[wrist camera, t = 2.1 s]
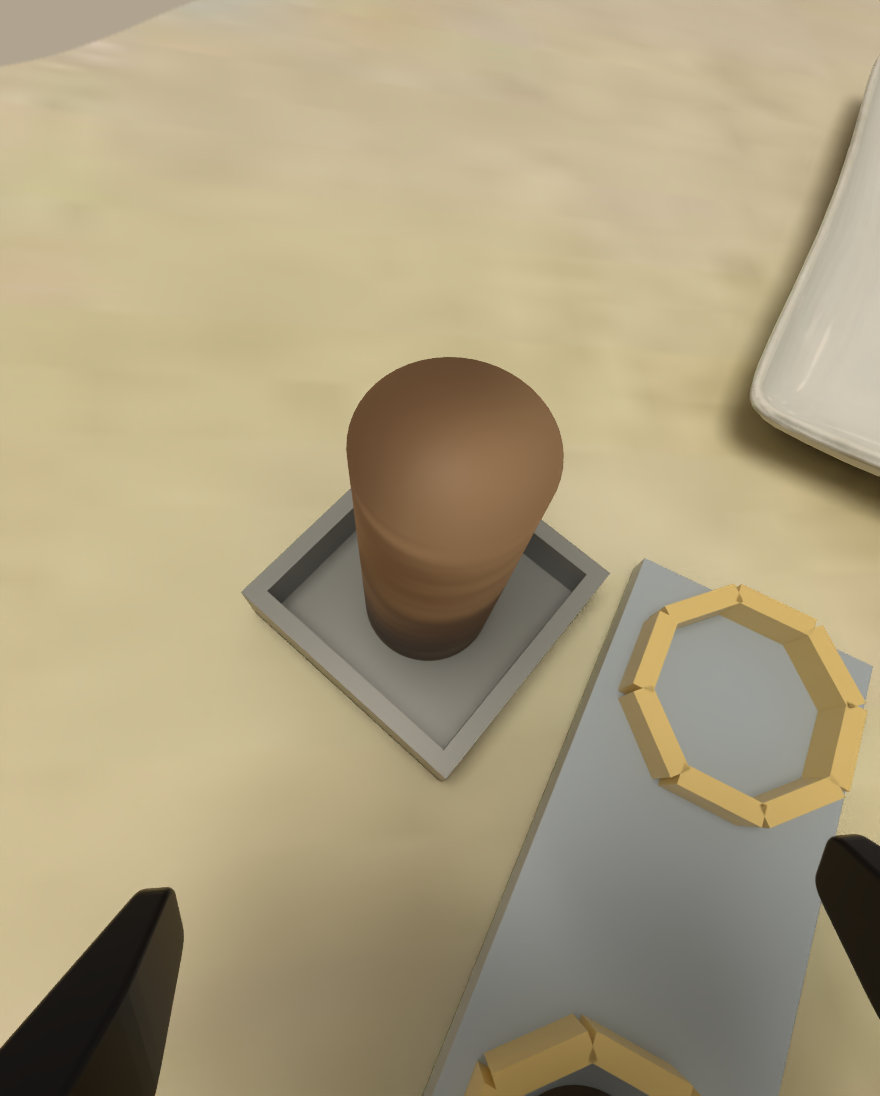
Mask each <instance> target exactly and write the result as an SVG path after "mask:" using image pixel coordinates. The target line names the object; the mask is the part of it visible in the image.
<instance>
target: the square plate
mask: <svg viewBox="0 0 880 1096" xmlns="http://www.w3.org/2000/svg"><path fill="white" fill-rule="evenodd" d="M750 401H751V405H752V407H753V408H754V410H755V411H756V412H757V413H758V414H759V415H760V416H761V417H762V418H763V419H764V420H765V421H766V422H768V423H769V424H770V425H772V426H774V427H775V428H777V429H779V430H781V431H783V432H785V433H787V434H789V435H790V436H792V437H794V438H796V439H798V440H800V441H802V442H804V443H806V444H808V445H810V446H812V447H814V448H816V449H818V450H820V451H822V452H824V453H827V454H829V455H831V456H833V457H835V458H837V459H839V460H841V461H843V462H846V463H848V464H850V465H852V466H855V467H857V468H859V469H862V470H864V471H866V472H869V473H871V474H874V475H876V476H878V477H880V55H879V56H878V58H877V60H876V61H875V63H874V65H873V68H872V71H871V74H870V76H869V79H868V82H867V85H866V89H865V93H864V96H863V100H862V104H861V108H860V111H859V115H858V118H857V122H856V125H855V129H854V133H853V136H852V139H851V143H850V146H849V149H848V152H847V155H846V158H845V161H844V164H843V167H842V171H841V174H840V177H839V180H838V183H837V185H836V188H835V191H834V194H833V196H832V199H831V201H830V204H829V206H828V209H827V211H826V214H825V216H824V219H823V222H822V224H821V227H820V229H819V231H818V234H817V236H816V238H815V240H814V242H813V245H812V247H811V249H810V251H809V253H808V256H807V258H806V260H805V262H804V265H803V267H802V269H801V271H800V273H799V275H798V278H797V280H796V282H795V284H794V286H793V289H792V291H791V293H790V295H789V297H788V299H787V301H786V303H785V305H784V308H783V310H782V312H781V314H780V316H779V318H778V320H777V323H776V325H775V327H774V329H773V331H772V333H771V335H770V338H769V340H768V342H767V345H766V347H765V349H764V351H763V354H762V356H761V358H760V361H759V363H758V366H757V368H756V371H755V374H754V377H753V381H752V385H751V389H750Z"/></svg>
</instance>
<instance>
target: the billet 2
mask: <svg viewBox="0 0 880 1096" xmlns="http://www.w3.org/2000/svg"><path fill="white" fill-rule="evenodd" d="M539 1096H611V1095H609V1094H607V1093H605V1092H603V1091H601V1090H599V1089H596V1088H593V1087H589V1086H583V1085H565V1086H560V1087H556V1088H553V1089H551V1090H548V1091H546V1092H544V1093H542V1094H540V1095H539Z"/></svg>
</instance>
